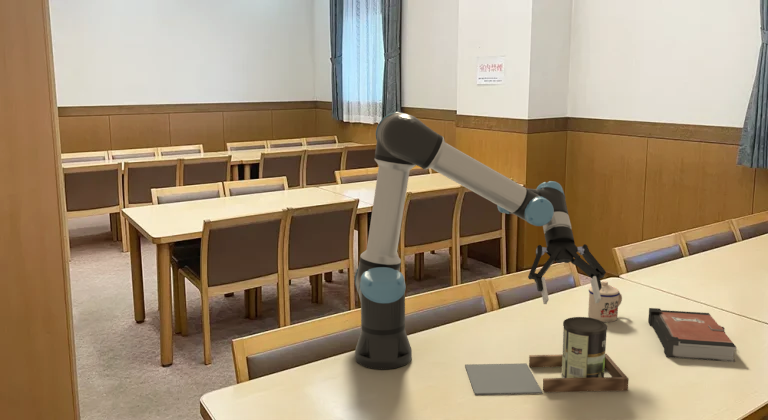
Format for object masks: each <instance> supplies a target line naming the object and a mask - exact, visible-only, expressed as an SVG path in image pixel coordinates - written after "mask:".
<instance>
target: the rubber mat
mask: <svg viewBox="0 0 768 420" xmlns="http://www.w3.org/2000/svg"><path fill="white" fill-rule="evenodd" d="M464 367H465V370H466V372H467V373H466V374H467V376H468V378H469V382H470V384H471V388H472V391H473V394H474V395H475V396H481V395H482V396H483V395H484V396H487V395H489V396H490V395H491V396H493V395H539V394H540V395H541V394H542V395H543V393H544V392H543V389H541V386H540V385H539V383H538V381H537V380H536V378H535V376H534V374H533V372H532V370H531V368H530V367H529V364H527V362H526V363H478V364H475V363H473V364H471V363H470V364H469V363H468V364H464Z"/></svg>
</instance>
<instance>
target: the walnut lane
mask: <svg viewBox="0 0 768 420" xmlns="http://www.w3.org/2000/svg"><path fill="white" fill-rule="evenodd" d="M562 356H563V353H562V354H561V353H560V354H529V357H528V360H529V361H528V367H529V369H531V368H535V369H536V368H562ZM604 370H606V372H608V374H609V375H610V376H607V377H605V376H604V377H597V378H562V377H561V378H559V377H554V378H553V377H550V378H549V377H547V378H542V392H543V393H565V392H566V393H567V392H568V393H569V392H572V393H573V392H576V393H577V392H620V391H622V392H626V391H629V377H627V375H626V374H625V373H624V372H623V370H622V369H621V368H620V367H619V366H618V365H617V363H615V361H614V360H613V359H612V358H611V357H610V356H609V354H608V353H605V368H604Z"/></svg>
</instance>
